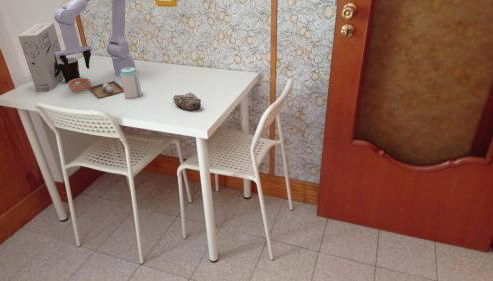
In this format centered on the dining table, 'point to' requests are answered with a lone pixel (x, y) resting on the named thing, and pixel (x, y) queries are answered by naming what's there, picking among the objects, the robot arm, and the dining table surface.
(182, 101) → the mineral rock
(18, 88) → the dining table surface
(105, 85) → the white ball
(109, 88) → the pebble
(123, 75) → the can
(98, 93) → the tray
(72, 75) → the coffee mug
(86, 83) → the bowl
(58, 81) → the cereal box
